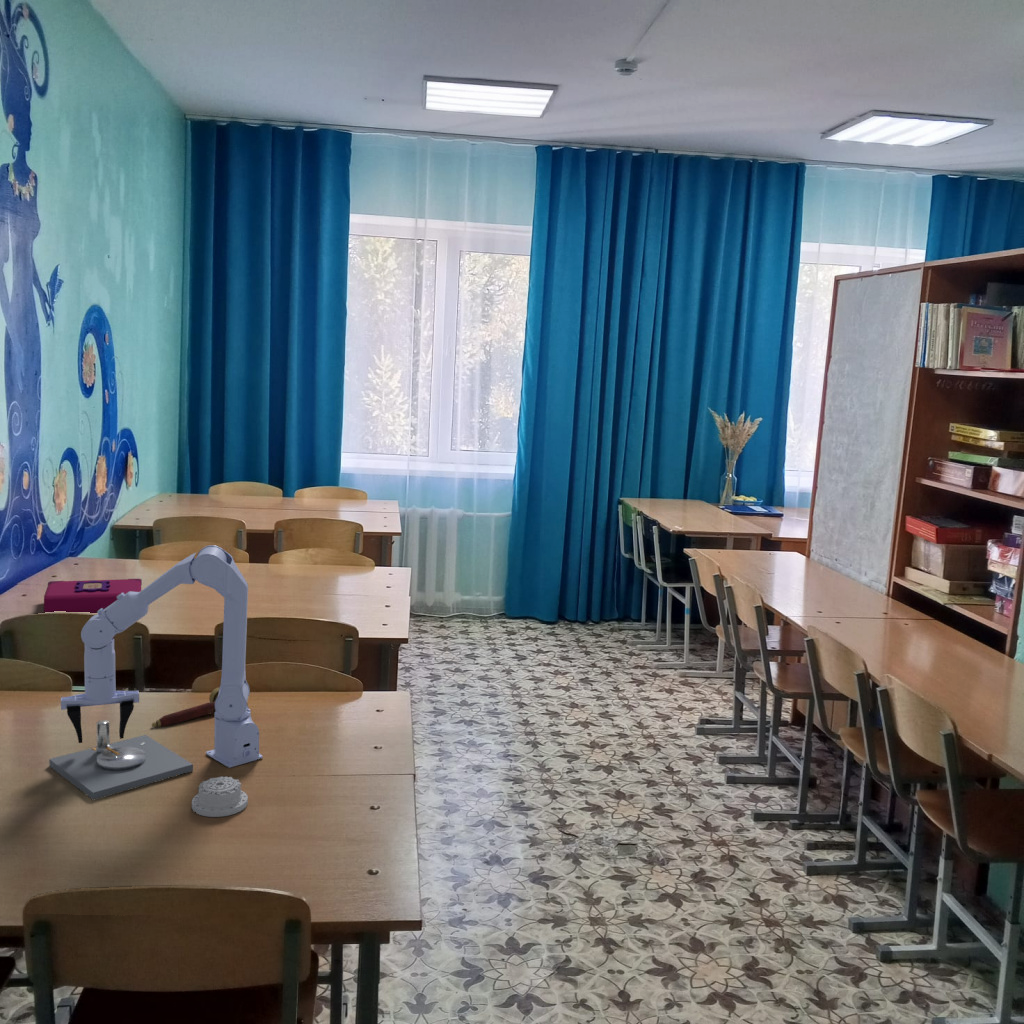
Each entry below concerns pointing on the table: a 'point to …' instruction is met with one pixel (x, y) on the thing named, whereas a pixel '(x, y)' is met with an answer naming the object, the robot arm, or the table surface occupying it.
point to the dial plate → (106, 782)
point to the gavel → (189, 712)
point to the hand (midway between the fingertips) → (101, 738)
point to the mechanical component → (219, 797)
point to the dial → (115, 751)
